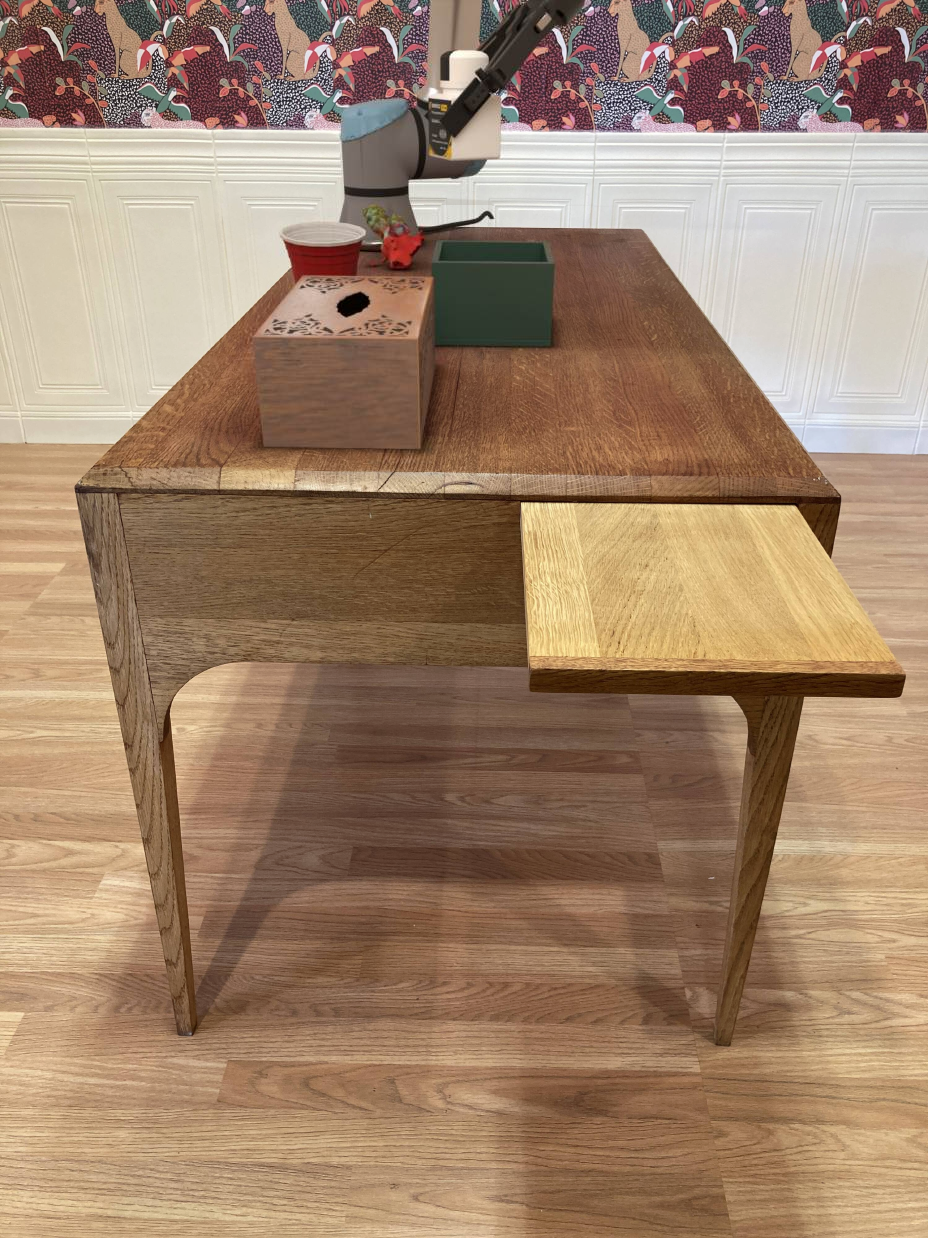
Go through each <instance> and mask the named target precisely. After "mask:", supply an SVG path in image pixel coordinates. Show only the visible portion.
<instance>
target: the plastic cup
mask: <svg viewBox="0 0 928 1238" xmlns="http://www.w3.org/2000/svg"><path fill="white" fill-rule="evenodd" d="M278 235H279V237H280V239H282V241H283V244H284V246H285V249H286V252H287V256H288V259H289V262H290V266H291V271H292V274H293V278H294V279H293V280H294V283H295V284H296V283H297V282H298V281H299V279H300V278H301V277H302V276H357V275H358V263H359V259H360V251H362V250H361V244H362V241H363V239H364V238H365V235H366V230H364V229H363V228H361V227H359V226H356V225H352V224H348V223H339V221H308V222H307V221H306V222H300V223H295V224H290V225H289V224H288V225H287V226H284V227H283V228H281V229H280V230H279V234H278Z"/></svg>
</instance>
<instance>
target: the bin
mask: <svg viewBox="0 0 928 1238" xmlns="http://www.w3.org/2000/svg"><path fill="white" fill-rule="evenodd" d="M552 252H553V251H552V249H551V245H550V242H549V241H543V240H542V241H541V240H540V241H539V240H538V241H537V240H536V241H535V240H533V241H531V240H529V241H528V240H526V241H525V240H519V241H518V240H455V239H454V240H453V239H452V240H450V239H449V240H446V239H445V240H443V239H442V240H441V239H440V240H439V239H438V240H436V243H435V247H434V250H433V254H432V258H431V262H430V277H434V318H435V346H453V347H454V346H458V347H459V346H461V347H463V346H464V347H530V348H531V347H535V348H536V347H537V348H539V347H541V348H550V347H551V346H552V330H553V329H552V327H553V310H554V309H553V307H554V290H555V289H554V288H555V268H556V263H555V259H554V256H553V255H554V254H553V253H552Z"/></svg>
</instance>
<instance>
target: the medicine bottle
mask: <svg viewBox="0 0 928 1238" xmlns="http://www.w3.org/2000/svg"><path fill="white" fill-rule="evenodd" d="M488 63H489V57H488V56H487V54H485V53H484V52H482V51H475V50H453V51H447V52H445V53H444V54H442V55H441V57H440V87H442V88H443V93H436V94H431V95H429V97H428V116H429V155H430V156H432V157H436V158H441V159H445V160H449V161H464V160H486V159H487V160H499V159H500V158H501V144H502V143H501V142H502V141H501V140H502V131H501V130H502V97H501V96H500V95H497V94H492V93H490V94H491V97H490V98H489V99H488V100H487V101H486V102H485V104H484V105H483V106H482V107H481V108H480V109H479V111H478V112H477V113H476V114H475V115H474V116H473V118H472V119H471V120H470V121H469V122H468V123H467V124H466V126H465V127H464V128H463V129H462V130H461V131H460V133H459V134H458V135H457V136H456V137H455V138H454V137H453V136H452V135H451V134H450V133H449V132H448V131H447V129H446V128H445V127H444V126H443V125H442V124H441V123H440V122H439V119H440V118H441V117H442V116H443V114H444V113H445V112H446V111H447V110H448V108H449V107H450V106H451V105H452V104H453V103H454V101H455V100H456V99H457V98H458V97H459V96H460V94H461V93H462V92H463V91H464V90H465V89H466V87H467V86H468V85H469V84H470V83H471V81H472V80H473V79H474V78H475V77H477V79H478V80H479V81H480V82H481V80H480V79H479V77H478V76H477V75H476V74H475V71H477V69H479V68H482V69H483V71H484V69H485V68H486V66H487V65H488Z"/></svg>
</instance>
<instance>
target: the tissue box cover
mask: <svg viewBox="0 0 928 1238" xmlns="http://www.w3.org/2000/svg"><path fill="white" fill-rule="evenodd" d="M251 340H252V341H251V343H252V349H253V359H254V369H255V379H256V388H257V397H258V405H259V406H258V407H259V415H260V416H259V417H260V424H261V425H260V426H261V434H262V443H263V447H264V448H317V449H320V448H323V449H383V450H384V449H387V450H388V449H389V450H392V449H393V450H394V449H395V450H405V449H406V450H421V447H422V442H423V436H424V431H425V425H426V420H427V414H428V409H429V402H430V397H431V392H432V386H433V382H434V377H435V371H436V345H435V318H434V277H431V276H388V275H387V276H385V275H384V276H383V275H380V276H379V275H356V276H302V277H301V278H300V279H299V281H298V282H297V283H295V284H294V285H293V286H292V288H291V289H290V290H289V291H288V293H287V294H286V295H285V296H284V297H283V299H282V300H281V301H280V303H278V305H277V306H276V307H275V308H274V309H273V311H272V312H271V313H270V314H269V316H268V317H267V318H266V320H265V321H264V322H263V323H262V324H261V326H260V327H259V328H258V329H257V330H256V332H255V333H254V334H253V335H252V337H251Z"/></svg>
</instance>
